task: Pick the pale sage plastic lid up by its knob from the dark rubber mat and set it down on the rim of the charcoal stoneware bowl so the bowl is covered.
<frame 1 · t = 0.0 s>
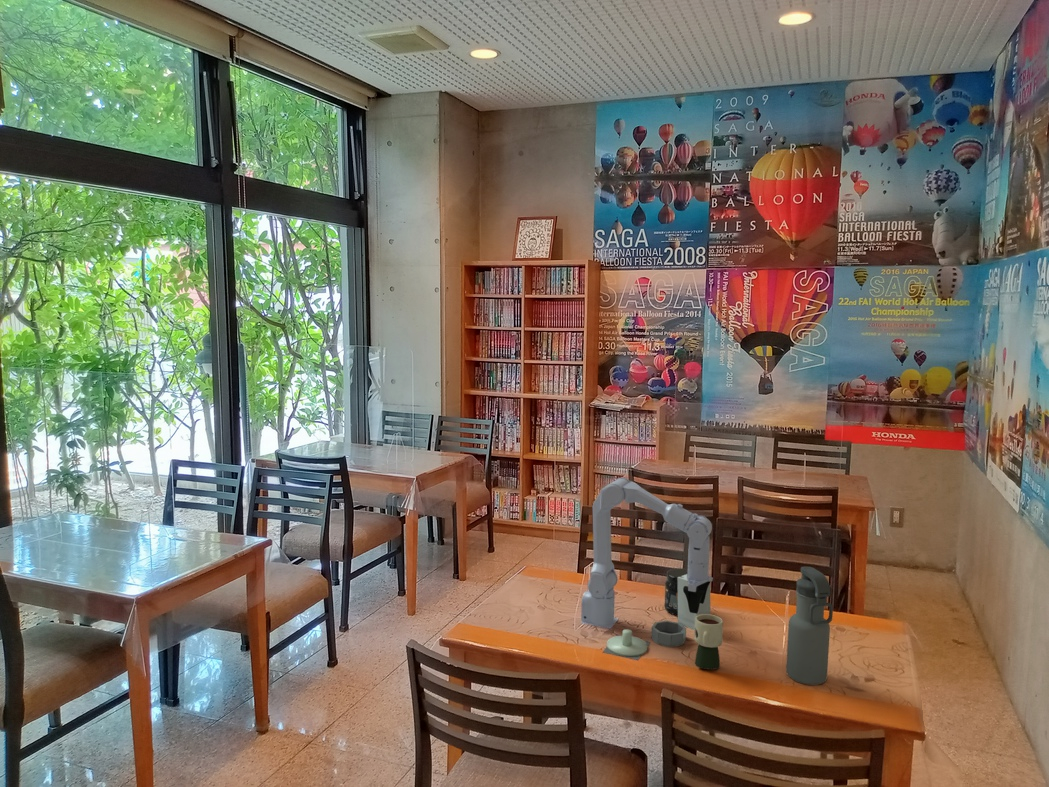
hand: (696, 607, 204), 10 cm above the table, fingers open, 7 cm apart
supplement container: (681, 611, 227), on the table
bowl: (668, 641, 206), on the table
lid: (626, 647, 201), point 1 cm above the table, touching mat
skincare box: (693, 627, 216), on the table
water bottle: (806, 677, 186), on the table
character mug: (707, 667, 191), on the table
mat: (626, 649, 201), on the table
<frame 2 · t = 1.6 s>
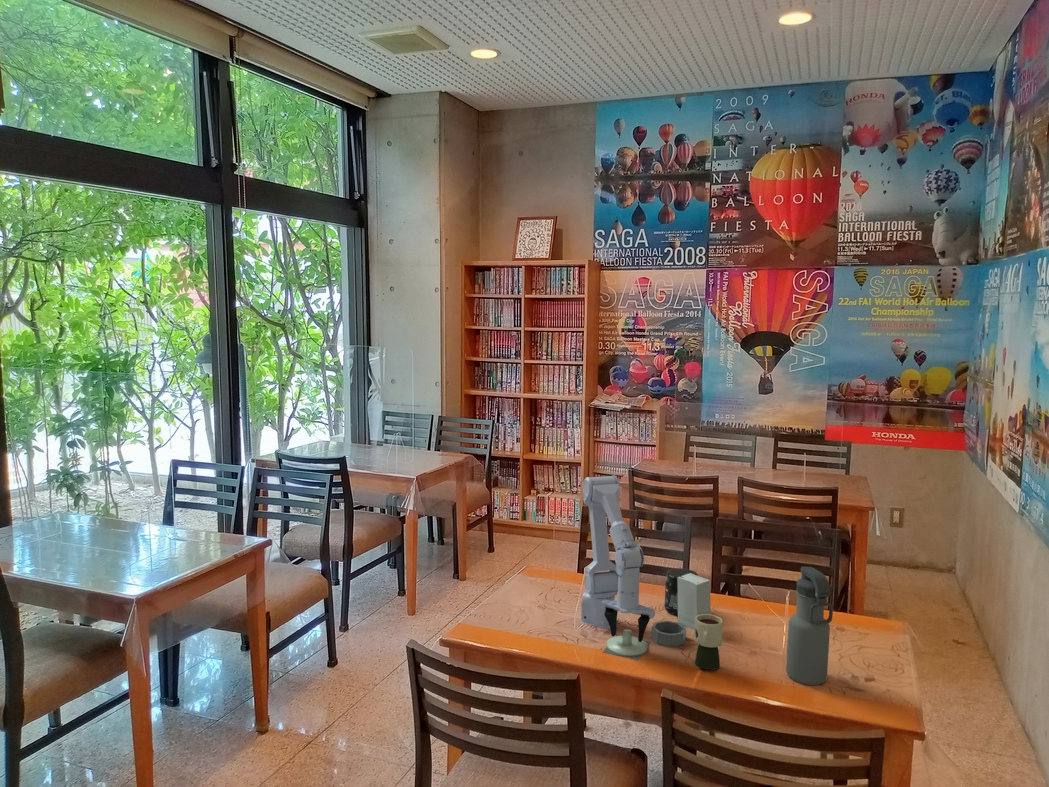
hand: (627, 637, 200), 3 cm above the table, fingers open, 7 cm apart
nothing on the table moved.
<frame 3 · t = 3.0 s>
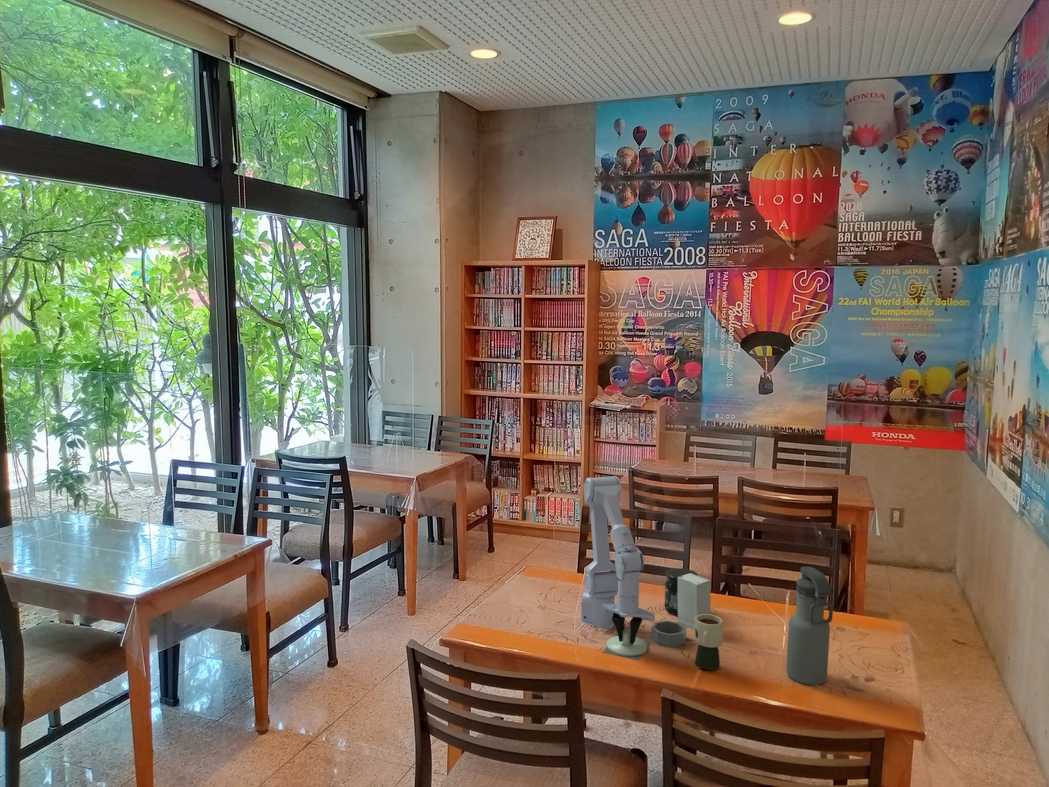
hand: (627, 641, 200), 2 cm above the table, fingers closed on lid, 3 cm apart
lid: (626, 646, 201), point 1 cm above the table, touching gripper, mat
everything else where it was.
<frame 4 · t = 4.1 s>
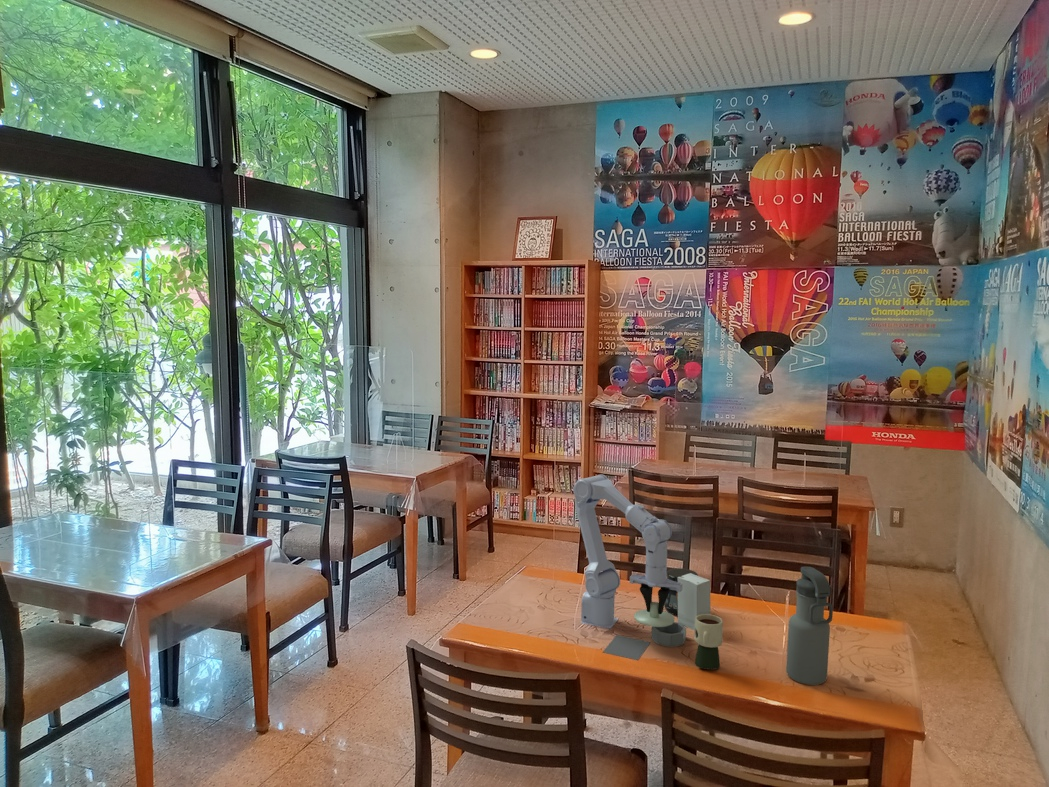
hand: (654, 611, 203), 9 cm above the table, fingers closed on lid, 3 cm apart
lid: (654, 619, 203), point 7 cm above the table, touching gripper
everything else where it was.
when the fingers open (7 cm above the table, at t = 5.5 s): lid stays where it is, resting on bowl.
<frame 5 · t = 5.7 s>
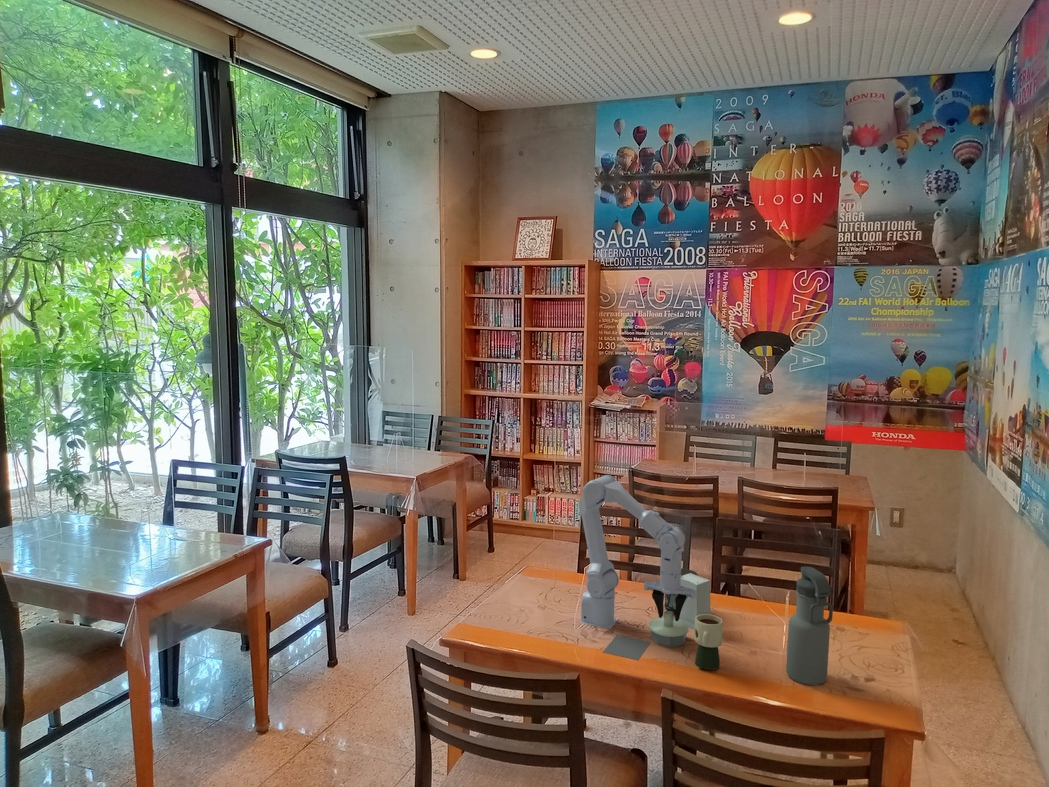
hand: (669, 618, 205), 7 cm above the table, fingers open, 4 cm apart
lid: (668, 628, 205), point 4 cm above the table, touching bowl
everything else where it was.
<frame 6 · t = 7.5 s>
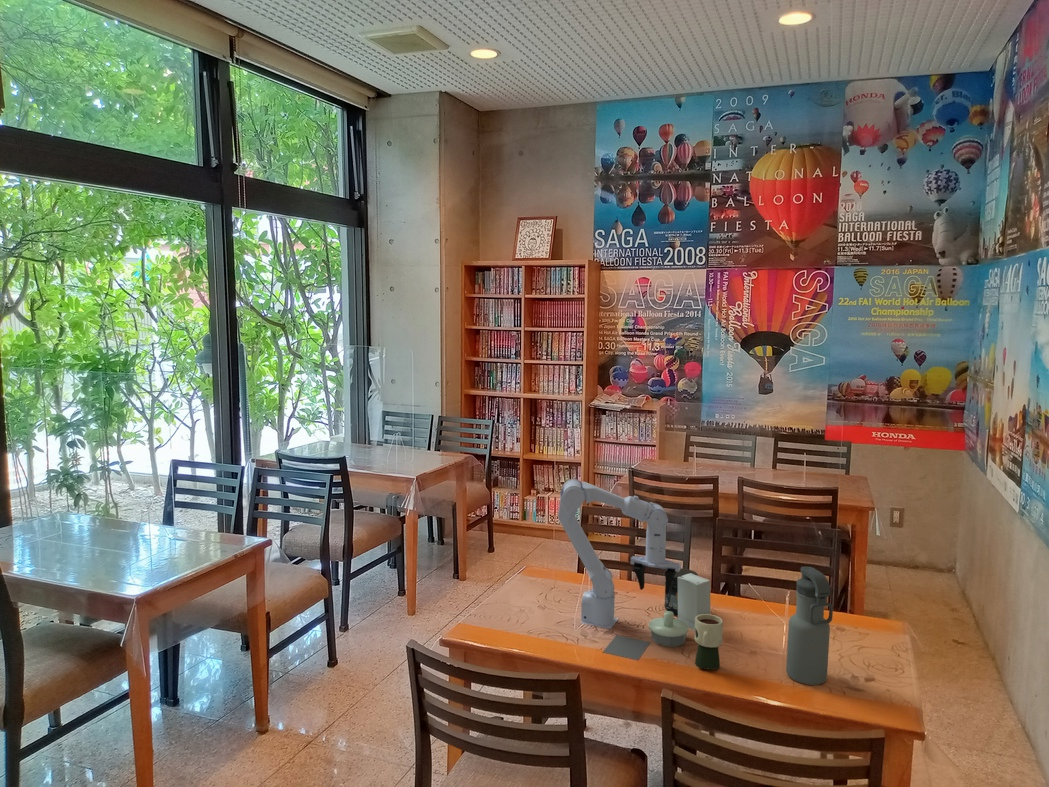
hand: (654, 590, 215), 10 cm above the table, fingers open, 7 cm apart
nothing on the table moved.
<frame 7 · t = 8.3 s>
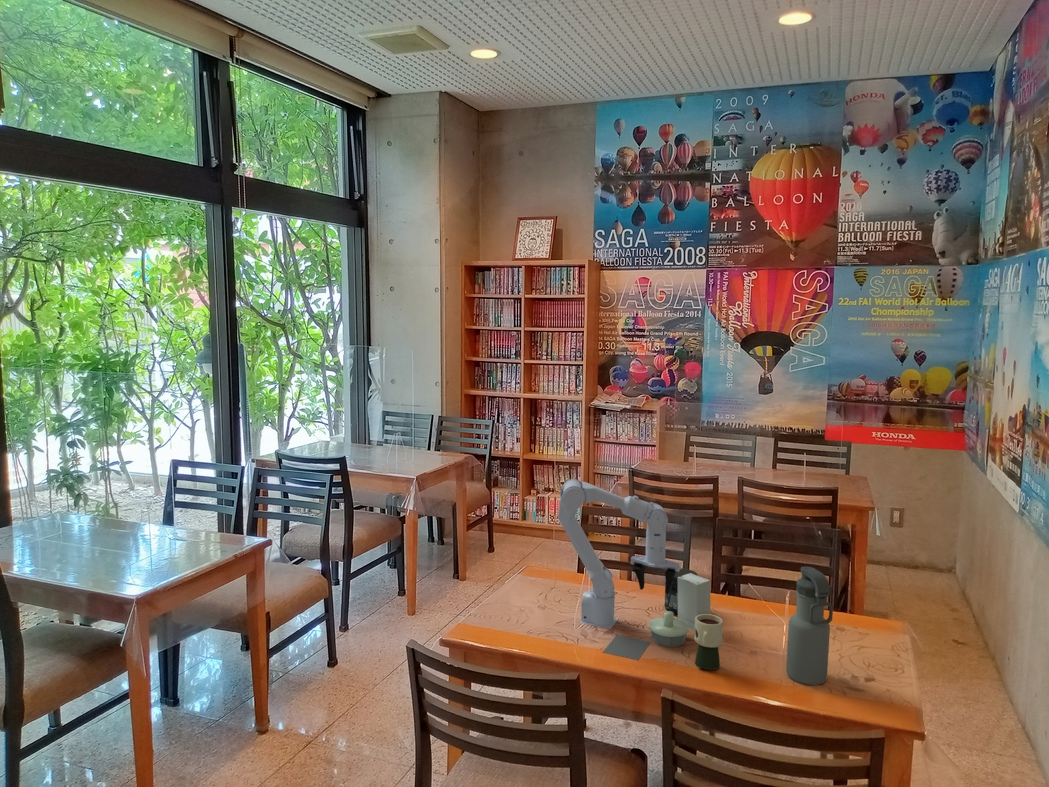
hand: (654, 590, 216), 10 cm above the table, fingers open, 7 cm apart
nothing on the table moved.
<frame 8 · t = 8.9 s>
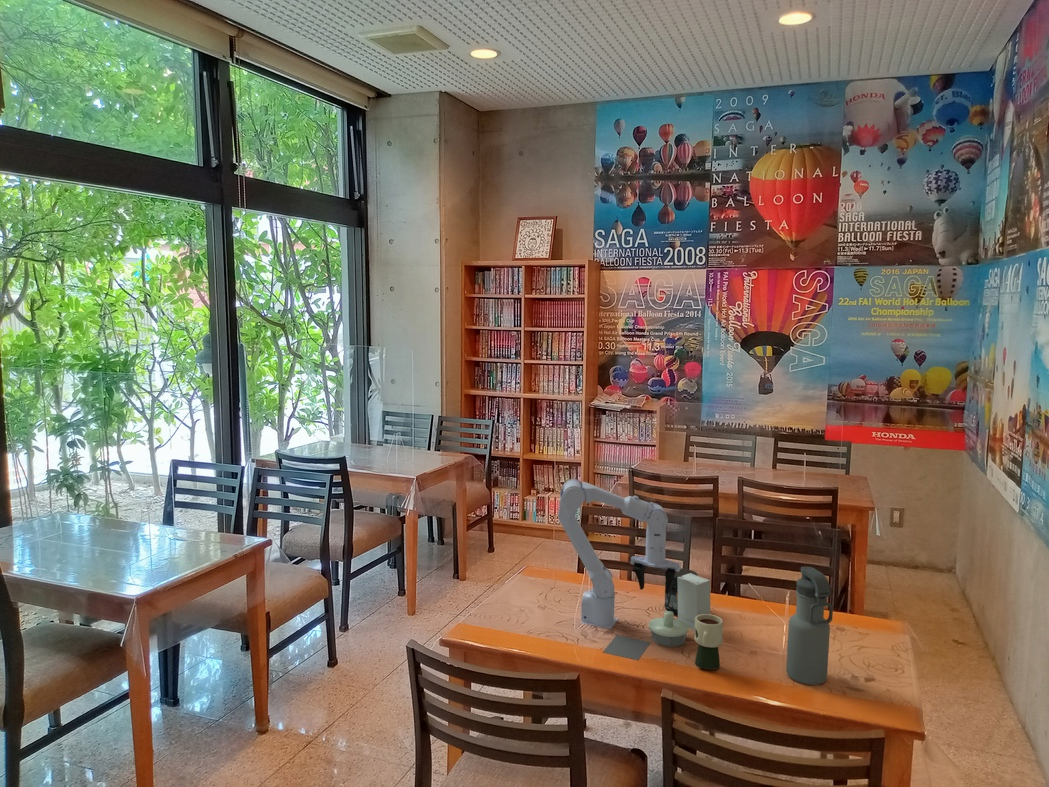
hand: (654, 590, 216), 10 cm above the table, fingers open, 7 cm apart
nothing on the table moved.
at the end: lid 0.4 cm off-centre on the bowl, point 4.0 cm above the bowl's base; lid tilted 0°; the gripper is holding nothing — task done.
